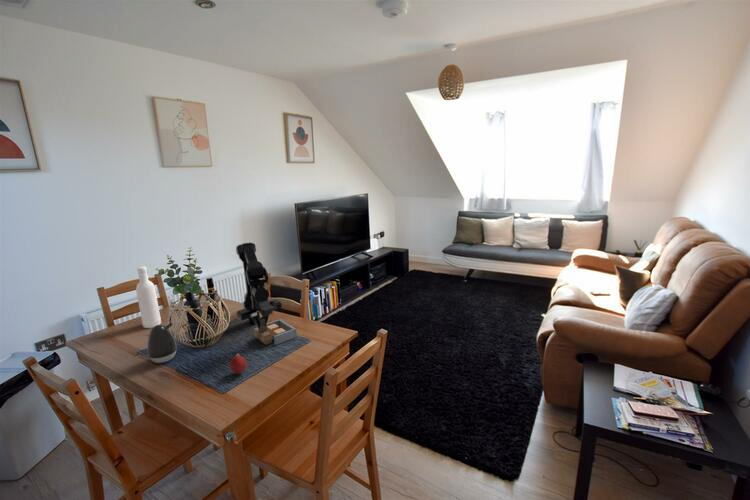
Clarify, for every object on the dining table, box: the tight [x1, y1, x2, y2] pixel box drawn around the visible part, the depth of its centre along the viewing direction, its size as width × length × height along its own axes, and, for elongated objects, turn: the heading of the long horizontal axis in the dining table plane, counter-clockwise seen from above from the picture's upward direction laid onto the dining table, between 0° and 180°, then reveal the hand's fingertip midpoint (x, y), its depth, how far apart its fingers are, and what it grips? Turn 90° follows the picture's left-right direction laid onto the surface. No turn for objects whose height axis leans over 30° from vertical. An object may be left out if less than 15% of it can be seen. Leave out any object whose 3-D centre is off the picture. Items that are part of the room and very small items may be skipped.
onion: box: [229, 353, 248, 374], centre depth 133 cm, size 6×6×8 cm
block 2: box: [273, 328, 286, 337], centre depth 159 cm, size 4×4×4 cm
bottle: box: [135, 266, 162, 329], centre depth 174 cm, size 8×8×30 cm
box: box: [266, 318, 298, 346], centre depth 162 cm, size 15×10×4 cm
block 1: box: [267, 324, 280, 338], centre depth 164 cm, size 4×4×4 cm
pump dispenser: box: [146, 322, 178, 364], centre depth 143 cm, size 10×10×15 cm
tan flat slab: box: [230, 311, 238, 323], centre depth 179 cm, size 26×11×1 cm, turn 162°
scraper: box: [253, 316, 273, 346], centre depth 156 cm, size 11×3×10 cm, turn 43°
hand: (261, 327), depth 156 cm, fingers closed on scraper, 2 cm apart
